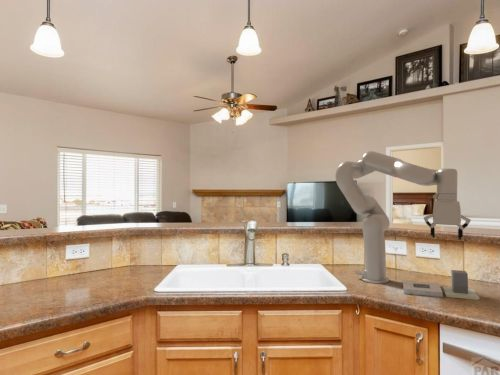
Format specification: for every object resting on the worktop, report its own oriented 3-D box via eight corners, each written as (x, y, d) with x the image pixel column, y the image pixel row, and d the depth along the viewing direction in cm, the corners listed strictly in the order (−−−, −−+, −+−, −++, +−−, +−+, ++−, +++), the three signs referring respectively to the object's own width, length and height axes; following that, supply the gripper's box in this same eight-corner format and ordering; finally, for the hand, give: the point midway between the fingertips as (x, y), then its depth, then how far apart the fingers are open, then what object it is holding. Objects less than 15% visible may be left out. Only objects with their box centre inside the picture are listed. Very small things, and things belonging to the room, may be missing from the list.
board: (446, 296, 134) (446, 294, 134) (442, 288, 145) (442, 286, 145) (479, 299, 129) (479, 297, 129) (473, 291, 140) (473, 288, 140)
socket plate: (403, 293, 139) (403, 288, 139) (403, 284, 152) (403, 280, 152) (442, 297, 133) (442, 292, 133) (438, 287, 146) (438, 283, 146)
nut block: (453, 292, 136) (452, 272, 136) (451, 289, 140) (451, 270, 140) (468, 293, 134) (467, 273, 134) (466, 290, 138) (465, 270, 138)
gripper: (424, 197, 143) (423, 237, 143) (472, 198, 136) (471, 240, 136) (423, 197, 150) (423, 235, 150) (469, 198, 143) (468, 238, 143)
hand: (446, 238), depth 143 cm, fingers open, 9 cm apart
